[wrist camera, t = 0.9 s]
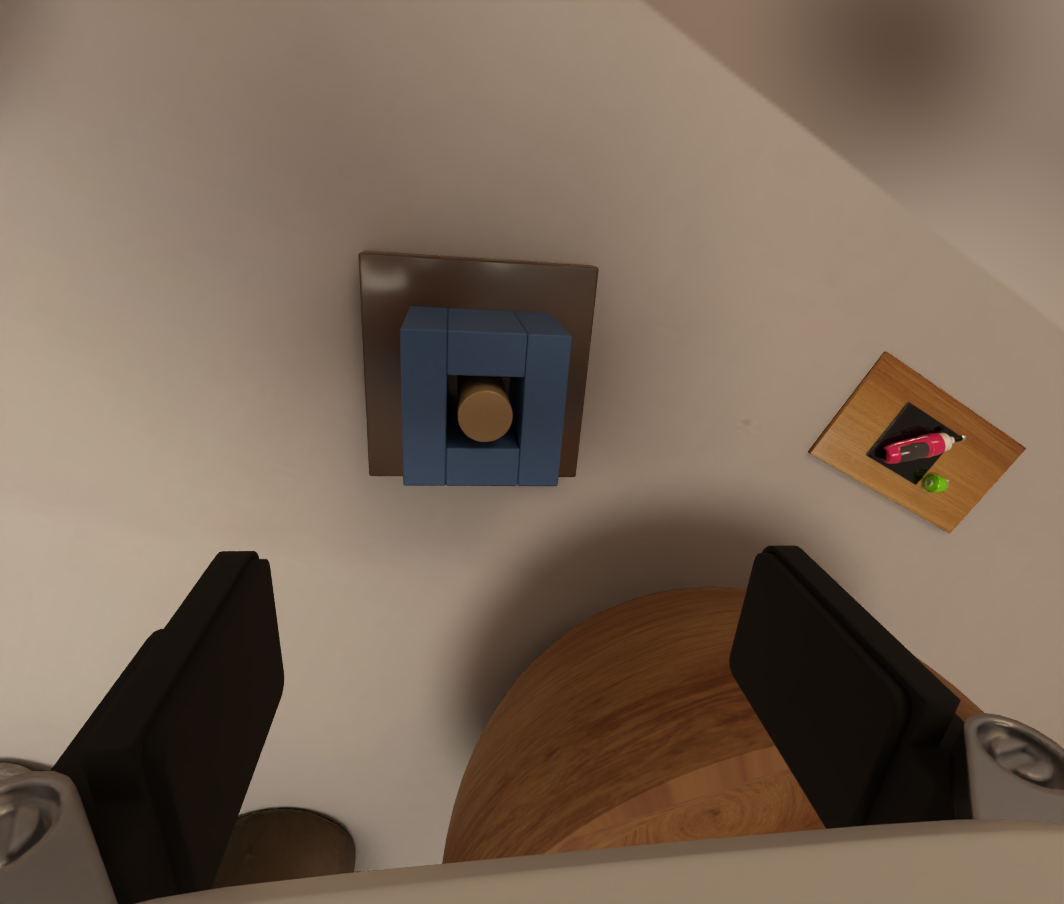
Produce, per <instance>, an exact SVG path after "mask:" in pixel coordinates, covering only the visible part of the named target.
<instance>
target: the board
mask: <svg viewBox="0 0 1064 904" xmlns="http://www.w3.org/2000/svg"><path fill="white" fill-rule="evenodd" d="M1025 449H1026V448H1025V447H1024V446H1022V445H1021V444H1019V443H1018V442H1016V441H1015V440H1014V439H1012V438H1011V437H1009V436H1008V435H1006V434H1005V433H1003V432H1002V431H1001V430H999V429H998V428H996V427H995V426H993V425H992V424H990V423H989V422H988V421H986V420H985V419H983V418H982V417H980V416H979V415H977V414H976V413H975V412H973V411H972V410H970V409H969V408H967V407H966V406H964V405H963V404H962V403H960V402H959V401H957V400H956V399H954V398H953V397H951V396H950V395H949V394H947V393H946V392H944V391H943V390H941V389H940V388H938V387H937V386H936V385H934V384H933V383H931V382H930V381H928V380H927V379H925V378H924V377H923V376H921V375H920V374H918V373H917V372H915V371H914V370H912V369H911V368H910V367H908V366H907V365H905V364H904V363H902V362H901V361H899V360H898V359H897V358H895V357H894V356H892V355H891V354H889V353H888V352H884V354H883V355H882V356H881V357H880V359H879V360H878V361H877V363H876V364H875V365H874V367H873V368H872V369H871V371H870V372H869V373H868V374H867V376H866V377H865V378H864V380H863V381H862V382H861V384H860V385H859V386H858V388H857V389H856V390H855V391H854V393H853V394H852V395H851V397H850V398H849V399H848V401H847V402H846V403H845V405H844V406H843V407H842V408H841V410H840V411H839V412H838V414H837V415H836V416H835V418H834V419H833V420H832V422H831V423H830V424H829V425H828V427H827V428H826V429H825V431H824V432H823V433H822V435H821V436H820V437H819V439H818V440H817V441H816V442H815V444H814V445H813V446H812V448H811V449H810V450H809V453H811V454H812V455H814V456H816V457H818V458H819V459H821V460H823V461H825V462H826V463H828V464H830V465H832V466H833V467H835V468H837V469H839V470H840V471H842V472H844V473H846V474H847V475H849V476H851V477H853V478H854V479H856V480H858V481H859V482H861V483H863V484H865V485H866V486H868V487H870V488H872V489H873V490H875V491H877V492H879V493H880V494H882V495H884V496H886V497H887V498H889V499H891V500H893V501H894V502H896V503H898V504H900V505H901V506H903V507H905V508H907V509H908V510H910V511H912V512H914V513H915V514H917V515H919V516H921V517H922V518H924V519H926V520H928V521H929V522H931V523H933V524H935V525H936V526H938V527H940V528H941V529H943V530H945V531H947V532H948V533H951V532H952V531H953V530H954V528H955V527H956V526H957V525H958V524H959V523H960V522H961V521H962V519H963V518H964V517H965V516H966V515H967V514H968V513H969V512H970V511H971V509H972V508H973V507H974V506H975V505H976V504H977V503H978V502H979V501H980V499H981V498H982V497H983V496H984V495H985V494H986V493H987V492H988V491H989V489H990V488H991V487H992V486H993V485H994V484H995V483H996V482H997V481H998V479H999V478H1000V477H1001V476H1002V475H1003V474H1004V473H1005V472H1006V470H1007V469H1008V468H1009V467H1010V466H1011V465H1012V464H1013V463H1014V462H1015V460H1016V459H1017V458H1018V457H1019V456H1020V455H1021V454H1022V453H1023V452H1024V450H1025Z"/></svg>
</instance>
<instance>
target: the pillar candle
mask: <svg viewBox="0 0 1064 904" xmlns="http://www.w3.org/2000/svg"><path fill="white" fill-rule="evenodd" d="M354 865H355V848H354V844H353V842H352V840H351V839H350V837H349V835H348V833H347V832H346V831H345V830H344V829H342V828H341V827H340V826H338V825H337V824H335V823H333V822H331V821H329V820H327V819H325V818H323V817H320V816H318V815H316V814H313V813H311V812H307V811H301V810H300V811H298V810H294V809H276V810H267V811H262V812H256V813H253V814H251V815H248V816H245V817H243V818H239V819H237V820H236V823H235V826H234V828H233V831H232V834H231V837H230V839H229V842H228V845H227V848H226V850H225V853H224V856H223V859H222V861H221V864H220V867H219V870H218V872H217V875H216V878H215V881H214V883H213V886H212V889H217V888H224V887H232V886H240V885H249V884H258V883H266V882H275V881H284V880H292V879H301V878H310V877H318V876H327V875H336V874H344V873H354Z"/></svg>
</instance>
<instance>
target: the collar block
mask: <svg viewBox="0 0 1064 904" xmlns="http://www.w3.org/2000/svg"><path fill="white" fill-rule="evenodd" d="M571 342H572V336H571V335H570V334H569V333H568V332H567V331H566V330H565V329H564V328H563V327H562V326H561V325H560V324H559V323H558V322H557V321H556V320H555V319H554V318H553V317H552V315H551V314H550V313H541V312H521V311H514V312H513V311H500V310H481V309H461V308H440V307H421V306H410V308H409V310H408V313H407V315H406V317H405V319H404V322H403V324H402V326H401V329H400V354H401V398H402V443H403V484H404V485H415V486H444V485H445V484H446V485H447V486H517V484H518V486H557V485H558V475H559V465H560V454H561V444H562V434H563V424H564V413H565V403H566V393H567V383H568V372H569V362H570V352H571ZM447 374H448V375H467V376H498V377H510V383H509V401H510V405H511V408H512V412H513V419H512V424H511V426H510V428H509V430H508V431H507V432H506V433H505V434H504V435H503V436H502V437H500V438H499V439H497V440H494V441H490V442H480V441H476V440H473V439H471V438H469V437H468V436H467V435H466V434H465V433H464V432H463V431H462V429H461V428H460V426H459V423H458V411H457V407H450V406H449V407H447Z"/></svg>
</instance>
